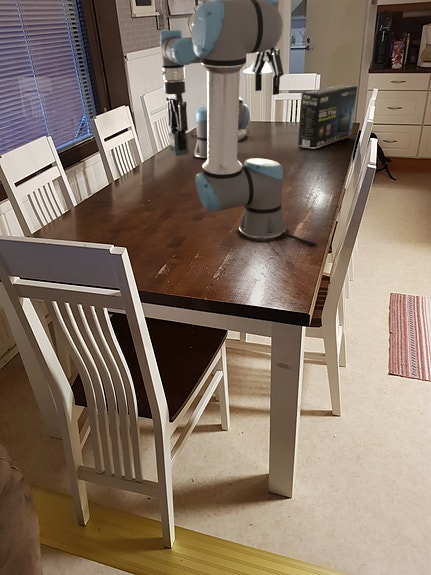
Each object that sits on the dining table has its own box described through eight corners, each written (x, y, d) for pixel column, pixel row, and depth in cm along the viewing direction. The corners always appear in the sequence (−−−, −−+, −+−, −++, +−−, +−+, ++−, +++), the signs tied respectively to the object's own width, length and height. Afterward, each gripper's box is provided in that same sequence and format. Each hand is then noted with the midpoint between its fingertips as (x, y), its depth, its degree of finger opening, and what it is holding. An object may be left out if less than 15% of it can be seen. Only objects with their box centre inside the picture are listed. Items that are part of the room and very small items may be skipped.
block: (183, 150, 176) (181, 130, 172) (188, 153, 172) (187, 132, 168) (170, 152, 174) (168, 131, 170) (175, 156, 170) (173, 134, 166)
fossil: (240, 135, 249) (222, 118, 252) (230, 152, 256) (212, 134, 259) (256, 134, 263) (238, 117, 266) (246, 150, 269) (228, 133, 272)
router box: (314, 151, 231) (318, 94, 217) (296, 148, 237) (299, 92, 224) (352, 138, 251) (358, 85, 238) (335, 135, 258) (340, 83, 245)
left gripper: (244, 34, 190) (244, 90, 201) (277, 36, 171) (275, 97, 182) (259, 33, 193) (258, 88, 204) (294, 35, 174) (291, 95, 185)
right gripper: (155, 79, 166) (161, 144, 178) (174, 84, 151) (179, 155, 163) (174, 77, 168) (179, 141, 180) (195, 82, 154) (198, 152, 166)
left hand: (266, 92), depth 193 cm, fingers open, 13 cm apart
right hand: (179, 148), depth 172 cm, fingers closed on block, 5 cm apart
